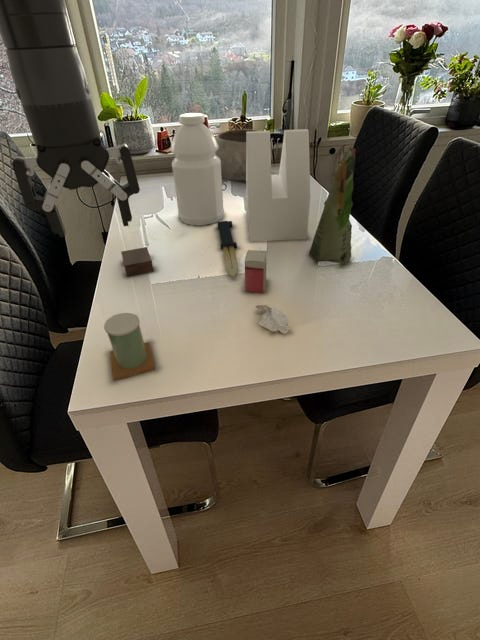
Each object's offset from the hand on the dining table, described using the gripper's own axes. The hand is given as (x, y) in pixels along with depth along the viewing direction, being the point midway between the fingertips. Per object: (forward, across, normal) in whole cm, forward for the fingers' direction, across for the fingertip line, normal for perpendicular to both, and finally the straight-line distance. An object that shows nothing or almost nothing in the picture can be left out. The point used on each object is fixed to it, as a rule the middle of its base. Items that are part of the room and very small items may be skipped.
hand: (94, 229), depth 53 cm
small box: (+24, -29, -12) cm, 40 cm away
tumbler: (+24, 0, +2) cm, 24 cm away
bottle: (+24, -28, -55) cm, 66 cm away
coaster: (+24, 0, +2) cm, 24 cm away
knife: (+24, -29, -31) cm, 49 cm away
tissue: (+24, -27, +1) cm, 36 cm away
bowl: (+24, -53, -87) cm, 105 cm away
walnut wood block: (+24, -6, -32) cm, 40 cm away
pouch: (+24, -51, -17) cm, 59 cm away
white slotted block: (+24, -46, -40) cm, 66 cm away
